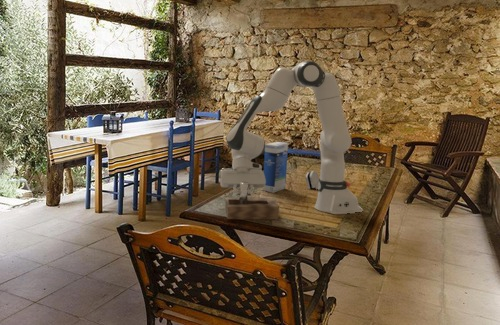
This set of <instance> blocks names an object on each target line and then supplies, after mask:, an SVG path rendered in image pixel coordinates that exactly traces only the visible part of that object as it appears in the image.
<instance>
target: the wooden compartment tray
mask: <svg viewBox="0 0 500 325" xmlns="http://www.w3.org/2000/svg"><path fill="white" fill-rule="evenodd" d="M224 201H225V202H224V203H225V205H224V210H225V214H226V219H227V220H279V213H280V205H279V204H278V203H277V202H276V200H275V199H274V197H248V199H247V205H239V197H225V199H224Z"/></svg>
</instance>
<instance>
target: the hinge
mask: <svg viewBox="0 0 500 325" xmlns="http://www.w3.org/2000/svg"><path fill="white" fill-rule="evenodd" d="M319 179H320V175H319V173H318V171H317V170H311V171H308V172H307V173H306V174H305V182H306V186H307V189H308V190H310V189H315V190H316V191H317V189H318V183H319Z"/></svg>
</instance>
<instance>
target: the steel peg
mask: <svg viewBox="0 0 500 325" xmlns="http://www.w3.org/2000/svg"><path fill="white" fill-rule="evenodd" d="M239 190H240V195H238V196H239V197H238V198H239V205H247V199H248V198H249V196H248V190H249V188H248V182H240V187H239Z"/></svg>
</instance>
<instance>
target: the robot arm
mask: <svg viewBox="0 0 500 325" xmlns="http://www.w3.org/2000/svg"><path fill="white" fill-rule="evenodd" d="M296 87H299V88H301V87H302V88H307V87H311V89H312V90H313V92H314V96H315V103H316V108H317V114H318V118H319V121H320V124H321V127H322V128H321V129H322V130H321V132H320V135H319V139H320V173H319V174H320V175H319V183H318V193H317V196H316V202H315V204H314V209H316V210H318V211H320V212H323V213H329V214H332V215H347V213H350V214H356V213H355V212H362V211H363V208H362V207H361V206H360V205H359V200H358V197H357V195H355V194H354V193H353V192H352V191H351V190H349V189H348V188H350V187H351V186H352V184H351V183H350V182H348V181H346V180H345V170H346V169H345V168H346V161H345V156H344V155H345V154H344V153H346V152H347V151H348V150H350V147H351V146H352V142H353V141H352V137H351V135H350V132H349V127H348V123H347V121H346V117H345V115H344V114H345V113H344V110H343V104H342V99H341V98H342V97H341V92H340V89H339V88H340V87H339V84H338V81H337V78H336V77H335V75H334V74H332V73H330V72H325V71H324V70H323V69H322V68H321V67H320V65H319V64H318V63H317V62H315V61H313V60H306V61H305V60H304V61H301V62H299V63H298V64H296V65H294V66H293V67H292V68H290V69H289V68H287V67H278V68H277V69H276V70H275V72H274V73H273V74H272V76H271V77H270V79H269V81H268V83H267V85H266V87H265V88H264V90H263V91H262V93H260V94H259V95H255V96H254V97H253V98H252V99H251V101H250V102H249V103H248V104H247V106H246V108H245V109H244V110H243V112H242V114H241V115H240V116H239V118H238V119H237V121H236V123H235V124H234V125H233V126H232V127H231V128H230V130H229V131H228V133H227V135H226V138H225V139H226V144H227V145H228V148H229V149H231V158H232V162H231V165H232V166H231V167H230V168H226V167H223V168H221V169H219V174H218V175H219V177H220V184H219V185H220V187H221V188H233V191H235V195H236V196H239V195H240V189H239V190H238V188H240V182H248V197H250V196H252V191H253V190H254V189H253V188H260V189H261V188H262V189H263V187H264V186H265V184H266V180H265V175H264V170H262V168H263V166H262V165H261V164H259V163H256V162H253V161H252V160H254V159H256V158H258V157H259V156H261V155H262V154H263V153H265V144H266V141H265V138H264V137H262V136H260V135H258V134H257V133H253V132H251V131H249V130H247V128H248V127H249V125H250V124H251V123H252V121H253V120H254V119H255V117H256V116H257V115H258V114H259V113H262V112H278V111H280V110H281V109H283V108H284V107H285V105H286V103H287V102H288V99H289V96H290V94H291V93H292V91H293V89H294V88H296ZM347 187H348V188H347ZM363 212H364V211H363ZM363 212H362V213H363Z"/></svg>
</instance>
